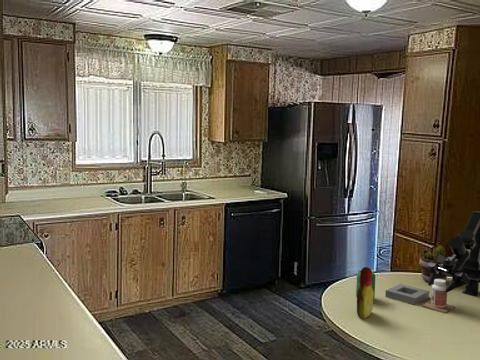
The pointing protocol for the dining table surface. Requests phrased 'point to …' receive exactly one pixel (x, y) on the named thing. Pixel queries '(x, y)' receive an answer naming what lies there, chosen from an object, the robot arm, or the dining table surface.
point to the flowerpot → (433, 258)
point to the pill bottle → (439, 294)
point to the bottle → (365, 293)
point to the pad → (443, 310)
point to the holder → (407, 294)
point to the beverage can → (371, 283)
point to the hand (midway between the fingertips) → (437, 288)
